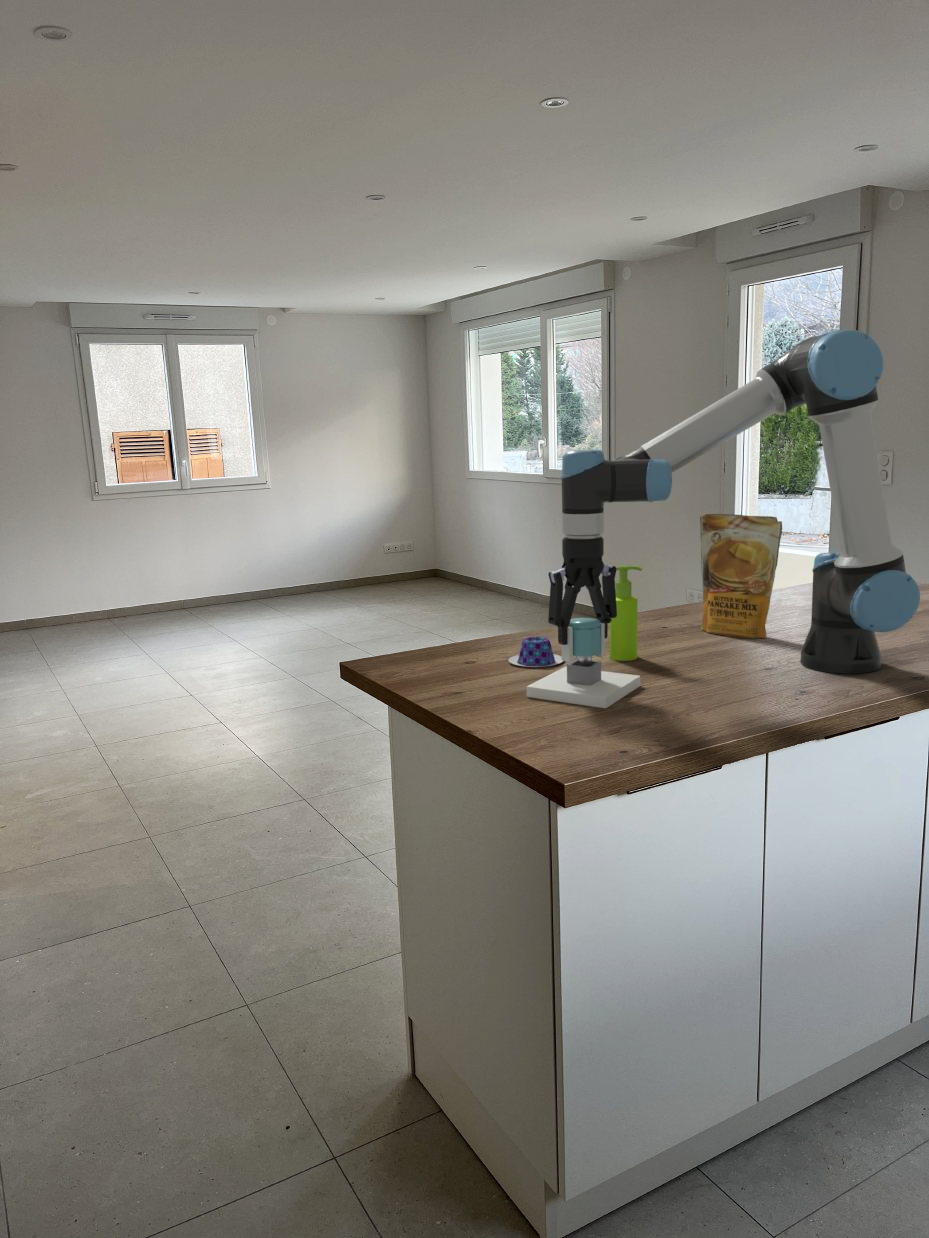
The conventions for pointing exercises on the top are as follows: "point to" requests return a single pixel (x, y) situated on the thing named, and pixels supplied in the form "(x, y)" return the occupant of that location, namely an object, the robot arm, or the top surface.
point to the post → (584, 660)
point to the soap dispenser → (624, 619)
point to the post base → (584, 685)
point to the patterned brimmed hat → (536, 653)
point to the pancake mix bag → (738, 572)
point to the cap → (585, 636)
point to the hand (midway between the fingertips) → (583, 658)
